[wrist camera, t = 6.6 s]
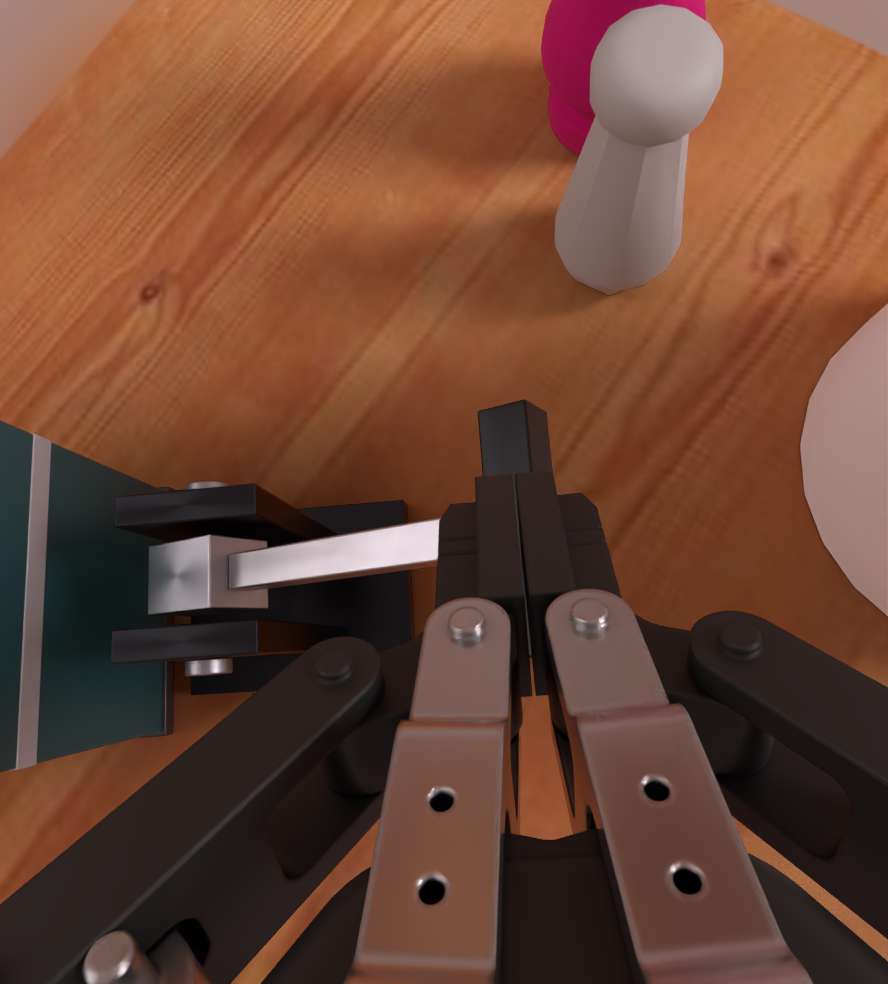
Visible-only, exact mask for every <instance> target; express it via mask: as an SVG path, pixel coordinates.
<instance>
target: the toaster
mask: <svg viewBox="0 0 888 984" xmlns="http://www.w3.org/2000/svg"><path fill="white" fill-rule="evenodd" d="M164 491H175V490H174V489H172V488H169V487H160V488H156V487H153V486H151V485H149V484H146V483H144V482H142V481H139V480H137V479H135V478H132V477H130V476H128V475H125V474H123V473H121V472H118V471H116V470H114V469H111V468H109V467H107V466H105V465H102V464H100V463H98V462H95V461H93V460H91V459H88V458H86V457H84V456H81V455H79V454H77V453H74V452H72V451H70V450H67V449H65V448H63V447H60V446H58V445H56V444H53V443H51V440H49V439H46V438H44V437H42V436H39V435H37V434H35V433H32V434H30V433H28V432H25V431H23V430H21V429H18V428H16V427H14V426H11V425H9V424H7V423H5V422H2V421H0V772H4V771H13V770H19V769H23V768H27V767H31V766H34V765H36V763H40V762H44V761H47V760H51V759H55V758H59V757H63V756H67V755H71V754H75V753H79V752H83V751H87V750H91V749H94V748H98V747H102V746H106V745H110V744H114V743H118V742H122V741H126V740H130V739H134V738H140V737H156V736H166V735H170V734H172V733H173V684H174V661H165V662H147V663H130V664H111V634H112V630H114V629H126V628H139V627H153V626H167V625H174V616H149V615H148V578H149V546H151V545H157V544H162V543H167V542H165V541H161V540H158V539H154V538H151V537H147V536H144V535H140V534H137V533H133V532H130V531H126V530H123V529H119V528H116V527H115V498H116V496H119V495H130V494H141V493H153V492H164Z"/></svg>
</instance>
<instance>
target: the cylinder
mask: <svg viewBox="0 0 888 984" xmlns="http://www.w3.org/2000/svg"><path fill="white" fill-rule="evenodd" d="M800 450H801V461H802V472H803V483H804V494H805V497H806V499H807V502H808V505H809V507H810V510H811V513H812V515H813V518H814V521H815V523H816V526H817V529H818V531H819V534H820V536H821V539H822V542H823V543H824V545H825V546H826V548H827V549H828V551H829V552H830V553H831V555H832V556H833V558H834V559H835V561H836V562H837V563H838V565H839V566H840V568H841V569H842V570H843V572H844V573H845V575H846V576H847V578H848V579H849V580H850V582H851V583H852V585H853V586H854V587H855V588H856V589H857V590H858V591H859V592H860V593H862V594H863V595H864V596H865V597H866V598H867V599H868V600H870V601H871V602H872V603H873V604H874V605H875V606H876V607H878V608H879V609H880V610H881V611H882V612H883V613H884V614H886V615H887V616H888V303H887V304H886V305H885V306H884V307H883V308H882V309H881V310H880V311H879V312H877V313H876V314H875V315H874V316H873V317H872V318H871V319H870V320H869V321H867V322H866V323H865V324H864V325H863V326H862V327H861V328H860V329H859V330H858V331H857V332H856V333H855V334H854V335H853V336H852V337H851V338H850V339H849V340H848V341H847V342H846V343H845V344H844V345H843V346H842V347H841V349H840V350H839V351H838V352H837V353H836V354H835V355H834V356H833V357H832V358H831V359H830V361H829V363H828V365H827V366H826V368H825V370H824V372H823V374H822V376H821V378H820V380H819V382H818V383H817V385H816V387H815V389H814V391H813V393H812V395H811V397H810V399H809V403H808V408H807V413H806V418H805V423H804V428H803V433H802V438H801V443H800Z"/></svg>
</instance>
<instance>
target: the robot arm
mask: <svg viewBox="0 0 888 984" xmlns="http://www.w3.org/2000/svg"><path fill="white" fill-rule="evenodd" d="M515 483H516V496H517V510H518V523H519V537H520V546H519V537H518V527H517V518H516V509H515V499H514V490H513V481H512V474H503V475H492V476H480V477H475V491H476V502H472V503H460V504H450V506H449V507H448V509H447V510H446V512H445V513H444V515H443V516H442V517H441V519H440V520H439V536H438V539H439V542H438V558H437V579H436V601H435V611H434V612H432V614H431V615H430V616H429V618H428V619H427V621H426V624H425V628H424V631H423V632H422V633H421V634H419V635H418V636H417V637H415V638H414V639H412V640H410V641H408V642H406V643H404V644H402V645H399V646H396V647H393V648H390V649H387V650H384V651H381V652H378V653H377V651H376V649H375V648H374V647H373V646H372V645H371V644H370V643H368V642H367V641H364V640H362V639H359V638H355V637H336V638H331V639H327V640H324V641H322V642H320V643H317V644H316V645H314V646H312V647H311V648H309V649H308V650H306V651H305V652H304V653H303V654H302V655H300V656H299V657H298V658H297V659H296V660H294V661H293V662H292V663H291V664H290V665H288V666H287V667H286V668H285V669H283V670H282V671H281V672H280V673H279V674H277V675H276V676H275V677H274V678H273V679H271V680H270V681H269V682H268V683H267V684H265V685H264V686H263V687H262V688H261V689H259V690H258V691H257V692H256V693H255V694H253V695H252V696H251V697H250V698H249V699H247V700H246V701H245V702H244V703H243V704H241V705H240V706H239V707H238V708H236V709H235V710H234V711H233V712H232V713H230V714H229V715H228V716H227V717H226V718H224V719H223V720H222V721H221V722H220V723H218V724H217V725H216V726H215V727H214V728H212V729H211V730H210V731H209V732H208V733H206V734H205V735H204V736H203V737H202V738H200V739H199V740H198V741H197V742H196V743H194V744H193V745H192V746H191V747H189V748H188V749H187V750H186V751H185V752H183V753H182V754H181V755H180V756H179V757H177V758H176V759H175V760H174V761H173V762H171V763H170V764H169V765H168V766H167V767H165V768H164V769H163V770H162V771H161V772H159V773H158V774H157V775H156V776H155V777H153V778H152V779H151V780H150V781H148V782H147V783H146V784H145V785H144V786H142V787H141V788H140V789H139V790H138V791H136V792H135V793H134V794H133V795H132V796H130V797H129V798H128V799H127V800H126V801H124V802H123V803H122V804H121V805H120V806H118V807H117V808H116V809H115V810H114V811H112V812H111V813H110V814H109V815H108V816H106V817H105V818H104V819H103V820H101V821H100V822H99V823H98V824H97V825H95V826H94V827H93V828H92V829H91V830H89V831H88V832H87V833H86V834H85V835H83V836H82V837H81V838H80V839H79V840H77V841H76V842H75V843H74V844H73V845H71V846H70V847H69V848H68V849H67V850H65V851H64V852H63V853H62V854H61V855H59V856H58V857H57V858H56V859H54V860H53V861H52V862H51V863H50V864H48V865H47V866H46V867H45V868H44V869H42V870H41V871H40V872H39V873H38V874H36V875H35V876H34V877H33V878H32V879H30V880H29V881H28V882H27V883H26V884H24V885H23V886H22V887H21V888H20V889H18V890H17V891H16V892H15V893H14V894H12V895H11V896H10V897H9V898H7V899H6V900H5V901H4V902H3V903H1V904H0V984H230V983H231V982H232V981H233V980H234V979H235V978H236V977H237V976H238V974H239V973H240V972H241V971H242V970H243V969H244V968H245V967H246V966H247V964H248V963H249V962H250V961H251V960H252V959H253V958H254V957H255V956H256V954H257V953H258V952H259V951H260V950H261V949H262V948H263V947H264V946H265V945H266V943H267V942H268V941H269V940H270V939H271V938H272V937H273V936H274V935H275V933H276V932H277V931H278V930H279V929H280V928H281V927H282V926H283V925H284V923H285V922H286V921H287V920H288V919H289V918H290V917H291V916H292V915H293V913H294V912H295V911H296V910H297V909H298V908H299V907H300V906H301V905H302V903H303V902H304V901H305V900H306V899H307V898H308V897H309V896H310V895H311V893H312V892H313V891H314V890H315V889H316V888H317V887H318V886H319V885H320V883H321V882H322V881H323V880H324V879H325V878H326V877H327V876H328V875H329V874H330V872H331V871H332V870H333V869H334V868H335V867H336V866H337V865H338V864H339V862H340V861H341V860H342V859H343V858H344V857H345V856H346V855H347V854H348V852H349V851H350V850H351V849H352V848H353V847H354V846H355V845H356V844H357V842H358V841H359V840H360V839H361V838H362V837H363V836H364V835H365V834H366V832H367V831H368V830H369V829H370V828H371V827H372V826H373V825H374V824H375V822H376V821H377V820H378V819H379V818H380V821H379V827H378V832H377V838H376V843H375V849H374V854H373V860H372V865H371V867H370V868H368V869H366V870H365V871H363V872H361V873H360V874H359V875H358V876H356V877H355V878H354V879H352V880H351V881H350V882H348V883H347V884H346V885H345V886H344V887H343V888H342V889H341V890H340V891H339V892H338V893H336V894H335V895H334V896H333V897H332V898H331V899H330V901H329V902H328V903H327V904H326V905H325V906H324V907H323V909H322V910H321V911H320V912H319V913H318V915H317V916H316V917H315V918H314V920H313V921H312V922H311V923H310V924H309V926H308V927H307V928H306V929H305V931H304V932H303V933H302V934H301V935H300V937H299V938H298V939H297V940H296V941H295V943H294V944H293V945H292V946H291V948H290V949H289V950H288V951H287V952H286V954H285V955H284V956H283V957H282V958H281V960H280V961H279V962H278V963H277V965H276V966H275V967H274V968H273V969H272V971H271V972H270V973H269V974H268V975H267V977H266V978H265V979H264V980H263V981H262V983H261V984H888V961H886V960H885V959H884V958H883V957H882V956H881V955H879V954H878V953H877V952H876V951H875V950H874V949H872V948H871V947H870V946H869V945H868V944H867V943H865V942H864V941H863V940H862V939H861V938H859V937H858V936H857V935H856V934H855V933H854V932H852V931H851V930H850V929H849V928H848V927H847V926H845V925H844V924H843V923H842V922H841V921H840V920H838V919H837V918H836V917H835V916H834V915H833V914H831V913H830V912H829V911H828V910H827V909H826V908H824V907H823V906H822V905H821V904H820V903H819V902H817V901H816V900H815V899H814V898H813V897H812V896H810V895H809V894H808V893H807V892H806V891H805V890H803V889H802V888H801V887H800V886H799V885H797V884H796V883H795V882H794V881H792V880H791V879H790V878H789V877H787V876H786V875H784V874H783V873H781V872H780V871H778V870H777V869H776V868H774V867H773V866H771V865H769V864H768V863H766V862H764V861H762V860H760V859H759V858H757V857H755V856H753V855H751V854H749V853H747V851H746V849H745V846H744V844H743V841H742V839H741V837H740V834H739V832H738V830H737V827H736V825H735V822H734V820H733V818H732V816H733V817H734V818H736V819H737V820H738V821H739V822H741V823H742V824H743V825H745V826H746V827H747V828H748V829H750V830H751V831H752V832H753V833H755V834H756V835H757V836H758V837H760V838H761V839H762V840H763V841H765V842H766V843H767V844H768V845H770V846H771V847H772V848H774V849H775V850H776V851H777V852H779V853H780V854H781V855H782V856H784V857H785V858H786V859H787V860H789V861H790V862H791V863H792V864H794V865H795V866H796V867H797V868H799V869H800V870H801V871H802V872H804V873H805V874H806V875H808V876H809V877H810V878H811V879H813V880H814V881H815V882H816V883H818V884H819V885H820V886H821V887H823V888H824V889H825V890H826V891H828V892H829V893H830V894H831V895H833V896H834V897H835V898H837V899H838V900H839V901H840V902H842V903H843V904H844V905H845V906H847V907H848V908H849V909H850V910H852V911H853V912H854V913H855V914H857V915H858V916H859V917H860V918H862V919H863V920H864V921H865V922H867V923H868V924H869V925H871V926H872V927H873V928H874V929H876V930H877V931H878V932H879V933H881V934H882V935H883V936H884V937H886V938H887V939H888V687H886V686H884V685H882V684H880V683H879V682H877V681H875V680H873V679H871V678H870V677H868V676H866V675H864V674H862V673H861V672H859V671H857V670H855V669H853V668H852V667H850V666H848V665H846V664H844V663H843V662H841V661H839V660H837V659H835V658H834V657H832V656H830V655H828V654H826V653H825V652H823V651H821V650H819V649H817V648H816V647H814V646H812V645H810V644H808V643H807V642H805V641H803V640H801V639H799V638H798V637H796V636H794V635H792V634H790V633H789V632H787V631H785V630H783V629H781V628H780V627H778V626H776V625H774V624H772V623H770V622H769V621H767V620H765V619H763V618H761V617H758V616H755V615H752V614H749V613H744V612H737V611H722V612H716V613H712V614H709V615H707V616H704V617H703V618H701V619H700V620H698V621H697V622H696V623H695V624H694V626H693V627H692V629H691V631H688V630H682V629H676V628H670V627H665V626H660V625H657V624H654V623H651V622H649V621H646V620H644V619H642V618H641V617H639V616H637V615H636V614H635V613H633V611H632V609H631V607H630V606H629V605H628V604H627V603H626V602H625V601H624V600H623V599H622V597H621V595H620V591H619V587H618V584H617V580H616V576H615V573H614V569H613V565H612V562H611V558H610V554H609V551H608V547H607V543H606V541H605V536H604V532H603V529H602V525H601V521H600V518H599V514H598V510H597V507H596V506H595V505H594V504H593V503H591V502H590V501H589V500H588V499H587V498H586V497H585V496H584V495H583V494H582V493H577V494H565V495H557V492H556V487H555V482H554V477H553V472H552V470H547V471H536V472H525V473H515ZM520 549H521V555H520ZM521 560H522V565H521ZM522 570H523V574H522ZM523 579H524V583H523ZM524 589H525V593H524ZM525 598H526V606H525ZM526 607H527V616H528V626H529V635H530V644H531V654H532V663H533V672H534V681H535V691H536V696H539V695H548V696H549V704H550V712H551V730H552V738H553V743H554V748H555V752H556V757H557V762H558V766H559V771H560V775H561V780H562V785H563V789H564V794H565V799H566V803H567V808H568V813H569V817H570V822H571V826H572V831H573V835H570V836H567V837H563V838H560V839H556V840H542V839H537V838H532V837H527V836H522V835H520V760H521V736H520V728H521V725H522V721H523V713H522V702H521V697H527V696H532V687H531V674H530V660H529V646H528V633H527V619H526Z"/></svg>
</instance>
